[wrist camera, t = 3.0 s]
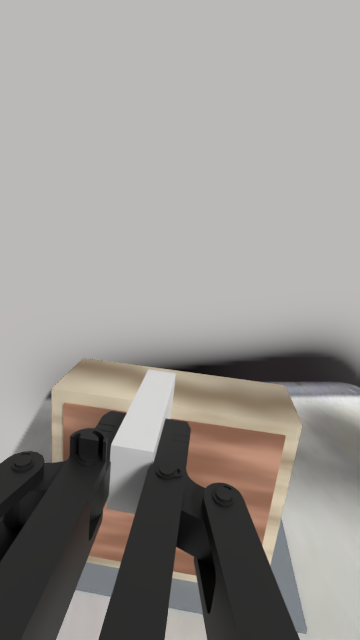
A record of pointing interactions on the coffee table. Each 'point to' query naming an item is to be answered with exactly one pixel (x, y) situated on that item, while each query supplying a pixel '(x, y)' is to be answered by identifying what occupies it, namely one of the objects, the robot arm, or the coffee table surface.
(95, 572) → the slate mat
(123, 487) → the robot arm
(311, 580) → the coffee table surface
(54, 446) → the birch slab
